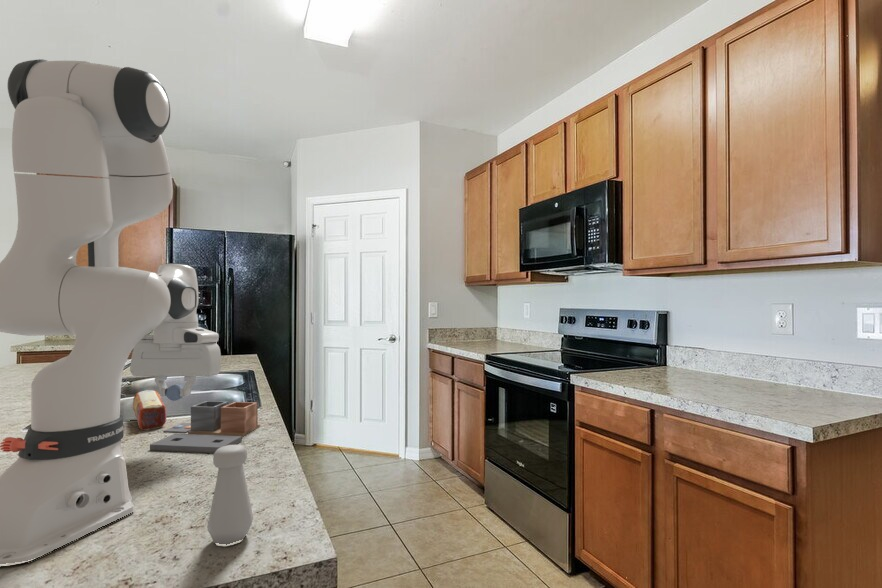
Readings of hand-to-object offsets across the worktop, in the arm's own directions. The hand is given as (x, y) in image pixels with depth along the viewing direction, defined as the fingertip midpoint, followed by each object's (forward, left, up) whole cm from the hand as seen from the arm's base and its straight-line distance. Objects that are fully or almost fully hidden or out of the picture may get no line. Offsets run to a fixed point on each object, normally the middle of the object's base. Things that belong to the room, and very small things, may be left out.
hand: (175, 395), depth 103 cm
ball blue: (0, 0, +1) cm, 1 cm away
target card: (+13, +7, -11) cm, 19 cm away
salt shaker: (-36, -35, -12) cm, 51 cm away
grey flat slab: (+1, -5, -11) cm, 12 cm away
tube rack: (+12, -4, -11) cm, 17 cm away
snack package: (+19, +22, -12) cm, 31 cm away
